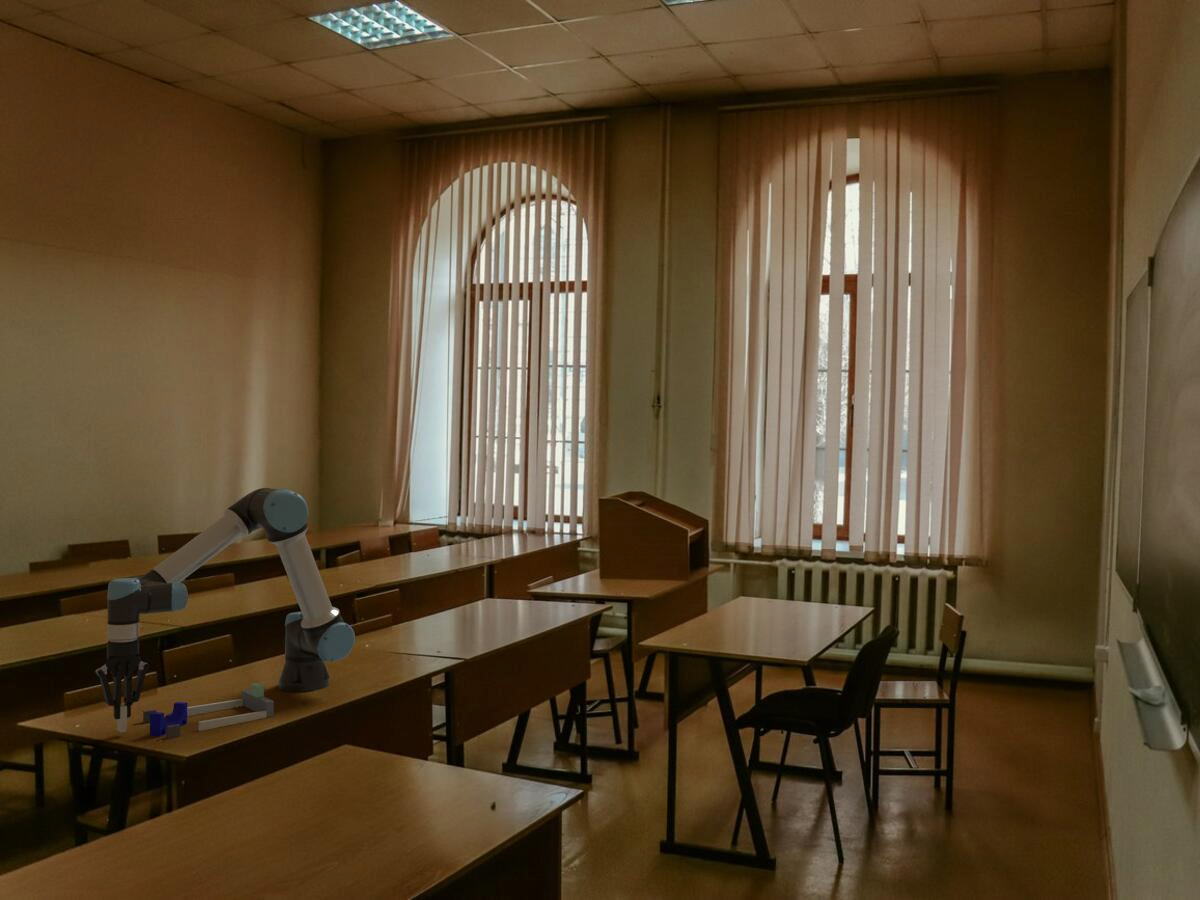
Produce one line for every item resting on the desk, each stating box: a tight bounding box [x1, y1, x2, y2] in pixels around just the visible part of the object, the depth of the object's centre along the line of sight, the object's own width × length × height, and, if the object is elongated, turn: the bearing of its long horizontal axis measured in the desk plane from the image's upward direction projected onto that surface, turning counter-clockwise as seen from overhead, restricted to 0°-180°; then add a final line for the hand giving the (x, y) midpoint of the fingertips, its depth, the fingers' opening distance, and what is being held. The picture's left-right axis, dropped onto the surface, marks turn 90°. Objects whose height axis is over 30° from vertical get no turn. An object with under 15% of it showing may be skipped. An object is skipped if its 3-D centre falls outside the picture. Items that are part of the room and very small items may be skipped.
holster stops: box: [142, 709, 181, 740], centre depth 270 cm, size 3×20×3 cm, turn 41°
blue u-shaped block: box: [149, 701, 188, 738], centre depth 270 cm, size 12×4×6 cm, turn 170°
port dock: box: [187, 682, 275, 732], centre depth 281 cm, size 20×17×8 cm
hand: (122, 730), depth 263 cm, fingers closed
